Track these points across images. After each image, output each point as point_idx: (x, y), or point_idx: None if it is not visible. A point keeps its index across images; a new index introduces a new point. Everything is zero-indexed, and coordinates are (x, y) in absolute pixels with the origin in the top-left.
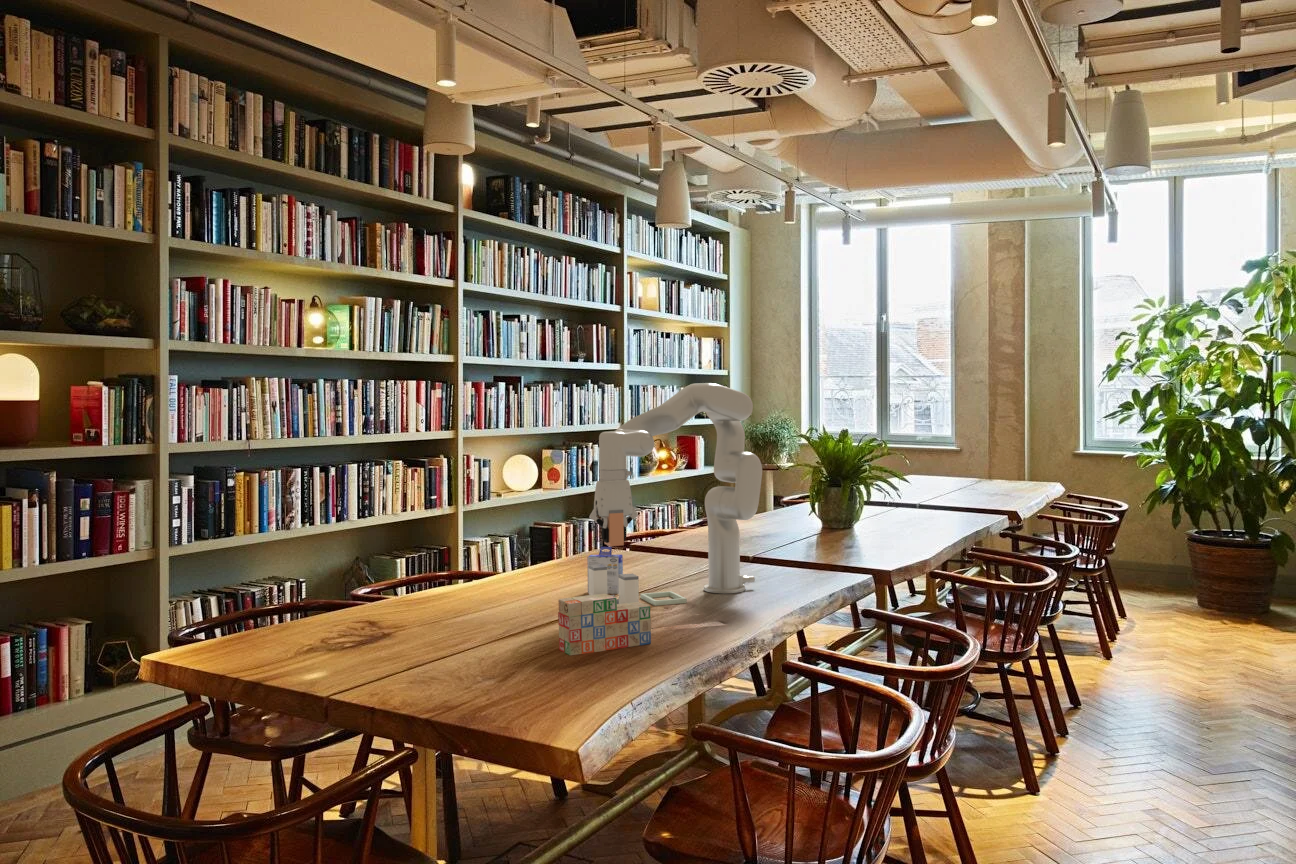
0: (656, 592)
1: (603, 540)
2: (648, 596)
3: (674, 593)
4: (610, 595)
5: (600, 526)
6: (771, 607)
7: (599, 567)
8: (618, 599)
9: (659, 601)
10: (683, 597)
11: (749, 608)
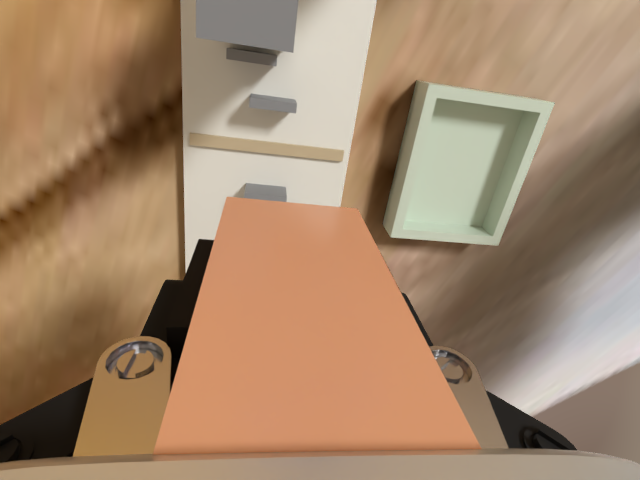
0: (495, 95)
1: (199, 240)
2: (421, 154)
3: (530, 150)
4: (279, 102)
5: (111, 353)
6: (633, 321)
7: (239, 43)
8: (275, 195)
9: (406, 237)
10: (502, 227)
11: (589, 310)
